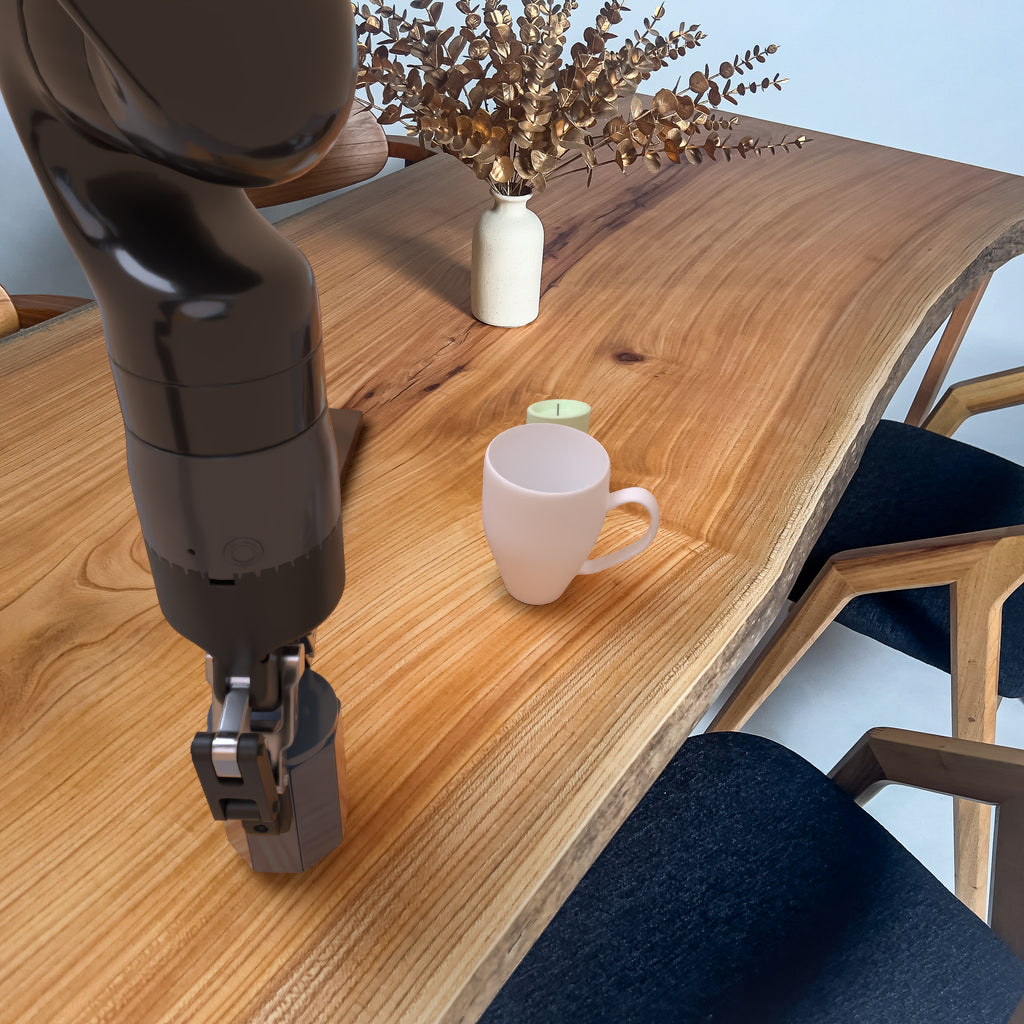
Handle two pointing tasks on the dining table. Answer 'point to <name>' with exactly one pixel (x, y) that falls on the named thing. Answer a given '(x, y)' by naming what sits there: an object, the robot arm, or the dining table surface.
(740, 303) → the dining table surface
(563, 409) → the candle
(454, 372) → the dining table surface
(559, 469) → the mug
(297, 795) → the cup
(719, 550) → the dining table surface
